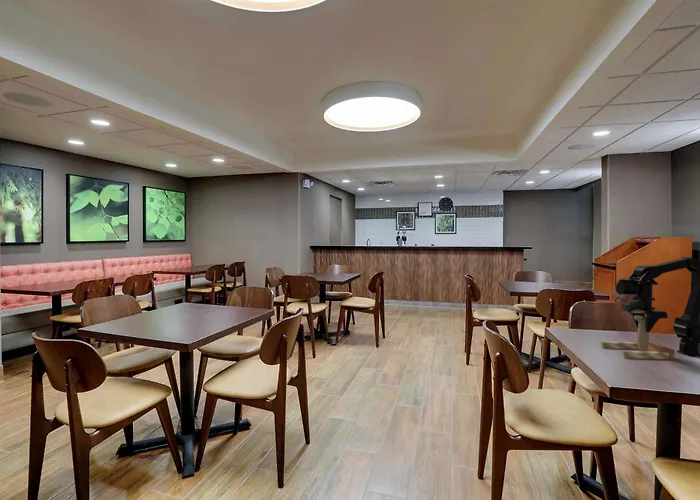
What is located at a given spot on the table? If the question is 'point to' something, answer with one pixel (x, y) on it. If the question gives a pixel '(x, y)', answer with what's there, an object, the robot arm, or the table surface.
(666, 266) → the robot arm
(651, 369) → the table surface
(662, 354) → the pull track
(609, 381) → the table surface
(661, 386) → the table surface
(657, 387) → the table surface
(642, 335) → the handle
